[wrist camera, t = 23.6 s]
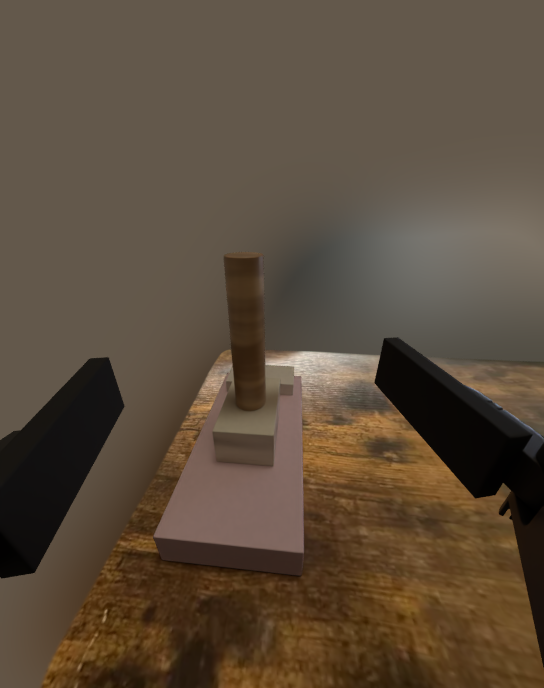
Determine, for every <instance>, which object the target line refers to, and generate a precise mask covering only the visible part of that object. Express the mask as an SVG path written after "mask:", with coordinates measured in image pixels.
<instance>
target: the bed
mask: <svg viewBox="0 0 544 688" xmlns="http://www.w3.org/2000/svg"><path fill="white" fill-rule="evenodd" d="M265 375H266V378H280V410H279V420H278V430H277V440H276V450H275V460H274V466H264V465H252V464H239V463H227V462H217V460H216V453H215V447H214V440H213V433H212V431H213V428H214V426H215V423H216V421H217V418H218V416H219V413H220V411H221V408H222V406H223V403H224V401H225V398H226V396H227V393H228V391H229V388H230V386H231V383H232V381H233V378H234V375H233V366H232V368H231V371H230V373H227V375H226V377H225V379H224V382H223V384H222V386H221V388H220V390H219V393H218V395H217V397H216V399H215V401H214V404H213V406H212V408H211V410H210V412H209V415H208V417H207V419H206V421H205V423H204V426H203V428H202V430H201V432H200V435H199V437H198V439H197V441H196V443H195V446H194V448H193V450H192V452H191V454H190V457H189V459H188V461H187V463H186V465H185V468H184V470H183V472H182V474H181V476H180V479H179V481H178V483H177V485H176V488H175V490H174V492H173V494H172V496H171V499H170V501H169V503H168V505H167V507H166V510H165V512H164V514H163V516H162V518H161V521H160V523H159V525H158V527H157V529H156V532H155V534H154V536H153V538H154V541H155V543H156V546H157V548H158V551H159V554H160V556H161V559H162V560H167V561H176V562H185V563H193V564H202V565H211V566H219V567H228V568H237V569H246V570H254V571H263V572H272V573H280V574H289V575H298V576H301V575H302V567H303V557H304V523H303V456H302V389H301V376H294V367H291V366H269V365H265Z"/></svg>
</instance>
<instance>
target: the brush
mask: <svg viewBox="0 0 544 688" xmlns="http://www.w3.org/2000/svg"><path fill="white" fill-rule="evenodd" d="M263 259H264V257H263V254H261V253H254V252H238V253H229V254H225V255H224V267H225V279H226V291H227V302H228V314H229V327H230V339H231V351H232V363H233V375H234V378H233V381H232V383H231V386H230V388H229V391H228V393H227V396H226V398H225V401H224V403H223V406H222V408H221V411H220V413H219V416H218V418H217V421H216V423H215V426H214V428H213V431H212V433H213V440H214V447H215V453H216V460H217V462H227V463H239V464H252V465H264V466H274V460H275V450H276V440H277V430H278V420H279V410H280V378H266V375H265V320H264V319H265V317H264V261H263Z"/></svg>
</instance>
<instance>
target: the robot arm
mask: <svg viewBox="0 0 544 688" xmlns="http://www.w3.org/2000/svg"><path fill="white" fill-rule="evenodd" d="M374 383H375V384H376V385H377V386H378V388H379V389H380V390H381V391H382V392H383V393H384V394H385V396H386V397H387V398H388V399H389V400H390V401H391V402H392V404H393V405H394V406H395V407H396V408H397V409H398V410H399V412H400V413H401V414H402V415H403V416H404V417H405V418H406V420H407V421H408V422H409V423H410V424H411V425H412V426H413V428H414V429H415V430H416V431H417V432H418V433H419V434H420V436H421V437H422V438H423V439H424V440H425V441H426V443H427V444H428V445H429V446H430V447H431V448H432V449H433V451H434V452H435V453H436V454H437V455H438V456H439V457H440V459H441V460H442V461H443V462H444V463H445V464H446V465H447V467H448V468H449V469H450V470H451V471H452V472H453V473H454V475H455V476H456V477H457V478H458V479H459V480H460V481H461V483H462V484H463V485H464V486H465V487H466V488H467V489H468V491H469V492H470V493H471V494H472V495H473V496H474V497H475V498H480V497H486V496H492V495H496V493H497V491H498V490H499V488H500V487H501V485H502V483H504V484H505V485H506V486H507V487H508V488H509V489H510V490H511V492H510V494H509V495H508V497H507V498H506V500H505V501H504V503H503V504H502V506H501V507H500V509H499V514H500V515H502V516H503V515H504V514H505V512H506V511H507V510H508V509H510V511H511V516H510V517H509V519H511V520H513V525H514V530H515V534H516V539H517V544H518V549H519V553H520V558H521V563H522V568H523V572H524V577H525V582H526V587H527V591H528V596H529V601H530V605H531V610H532V615H533V620H534V624H535V629H536V634H537V639H538V643H539V648H540V653H541V658H542V662H543V667H544V437H543V436H542V435H540V434H539V433H537V432H536V431H534V430H533V429H532V428H530V427H529V426H527V425H526V424H525V423H523V422H522V421H520V420H519V419H517V418H516V417H515V416H513V415H512V414H510V413H509V412H507V411H506V410H503V408H502V407H500V406H499V405H497V404H496V403H493V402H492V400H490V399H489V398H488V397H486V396H485V395H483V394H482V393H480V392H479V391H476V390H474V389H472V388H470V387H468V386H466V385H463V384H462V383H460V382H459V381H458V380H456V379H455V378H454V377H452V376H451V375H449V374H448V373H447V372H445V371H444V370H442V369H441V368H440V367H438V366H437V365H435V364H434V363H433V362H431V361H430V360H429V359H427V358H426V357H424V356H423V355H422V354H420V353H419V352H417V351H416V350H415V349H413V348H412V347H410V346H409V345H408V344H406V343H405V342H404V341H402V340H401V339H399V338H384V341H383V346H382V351H381V355H380V360H379V364H378V369H377V373H376V378H375V382H374ZM123 408H124V404H123V400H122V397H121V394H120V391H119V388H118V385H117V382H116V379H115V376H114V372H113V369H112V366H111V363H110V360H109V358H107V357H106V358H92V359H89V360H88V361H87V362H86V363H85V364H84V365H83V367H81V368H80V369H79V370H78V371H77V372H76V373H75V375H74V376H73V377H72V378H71V379H70V380H69V381H68V382H67V383H66V384H65V385H64V386H63V387H62V388H61V389H60V390H59V391H58V392H57V393H56V394H55V395H54V396H53V397H52V399H51V400H50V401H49V402H48V403H47V404H46V405H45V406H44V407H43V408H42V409H41V410H40V411H39V412H38V413H37V414H36V415H35V416H34V417H33V418H32V419H31V421H29V422H28V423H27V425H26V426H25V427H24V428H23V429H22V430H21V431H13V432H12V433H11V434H9V435H7V436H6V437H4V438H3V439H2V440H0V577H1V578H7V577H13V576H19V575H25V574H31V573H35V571H36V569H37V567H38V566H39V564H40V562H41V560H42V558H43V556H44V554H45V553H46V551H47V549H48V547H49V545H50V543H51V542H52V540H53V538H54V536H55V534H56V532H57V530H58V529H59V527H60V525H61V523H62V521H63V519H64V517H65V516H66V514H67V512H68V510H69V508H70V506H71V504H72V503H73V501H74V499H75V497H76V495H77V493H78V492H79V490H80V488H81V486H82V484H83V482H84V480H85V479H86V477H87V475H88V473H89V471H90V469H91V467H92V466H93V464H94V462H95V460H96V458H97V456H98V454H99V453H100V451H101V449H102V447H103V445H104V443H105V441H106V440H107V438H108V436H109V434H110V432H111V430H112V428H113V427H114V425H115V423H116V421H117V419H118V417H119V415H120V414H121V412H122V410H123Z"/></svg>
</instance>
